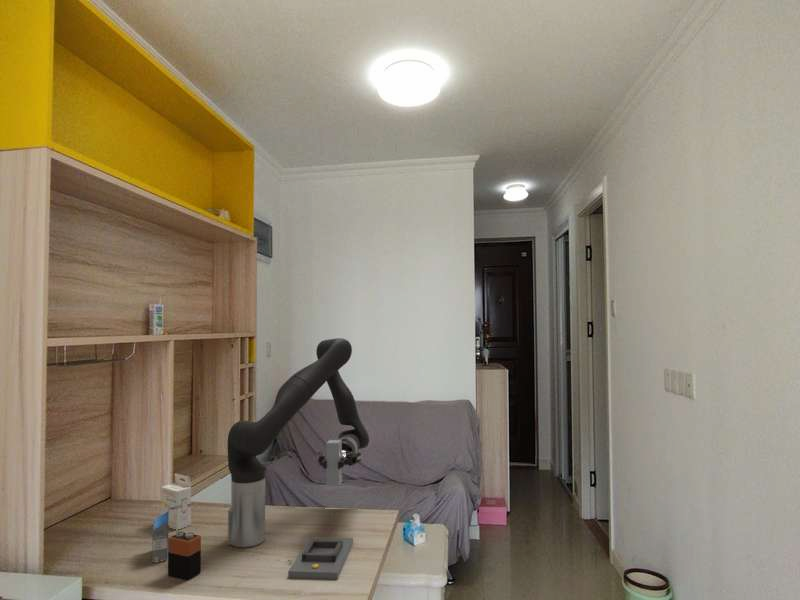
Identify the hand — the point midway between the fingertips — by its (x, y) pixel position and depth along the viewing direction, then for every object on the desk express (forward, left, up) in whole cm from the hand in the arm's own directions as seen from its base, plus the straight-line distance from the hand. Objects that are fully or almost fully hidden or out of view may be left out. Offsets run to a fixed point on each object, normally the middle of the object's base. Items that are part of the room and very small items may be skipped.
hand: (332, 465), depth 142 cm
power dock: (0, -11, -21) cm, 24 cm away
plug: (0, +3, -6) cm, 7 cm away
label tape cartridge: (-44, -11, -21) cm, 50 cm away
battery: (-32, -21, -21) cm, 44 cm away
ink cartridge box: (-51, +9, -21) cm, 56 cm away
